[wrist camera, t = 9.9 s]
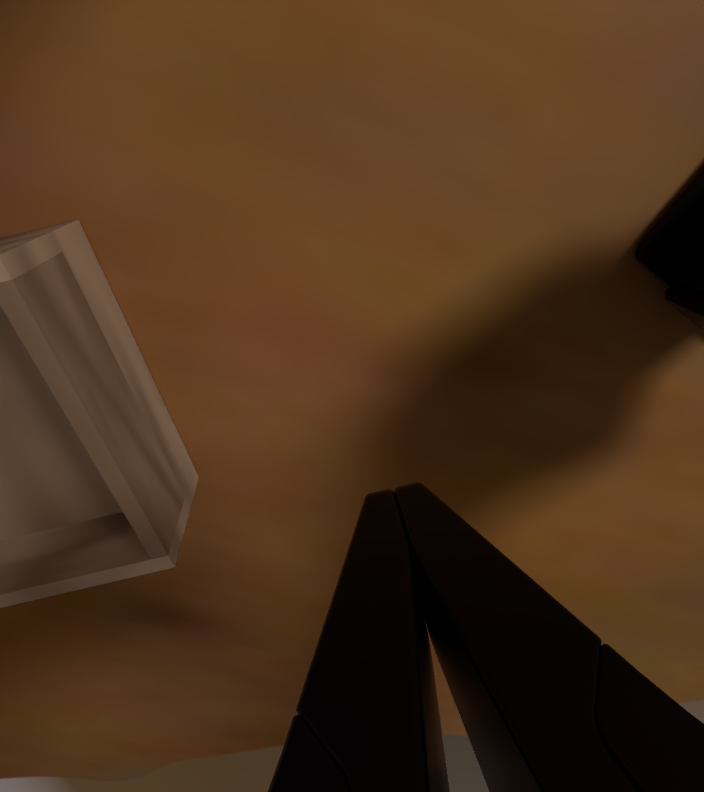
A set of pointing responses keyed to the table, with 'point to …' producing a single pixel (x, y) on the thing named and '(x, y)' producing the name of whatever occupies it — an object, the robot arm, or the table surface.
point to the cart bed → (79, 429)
